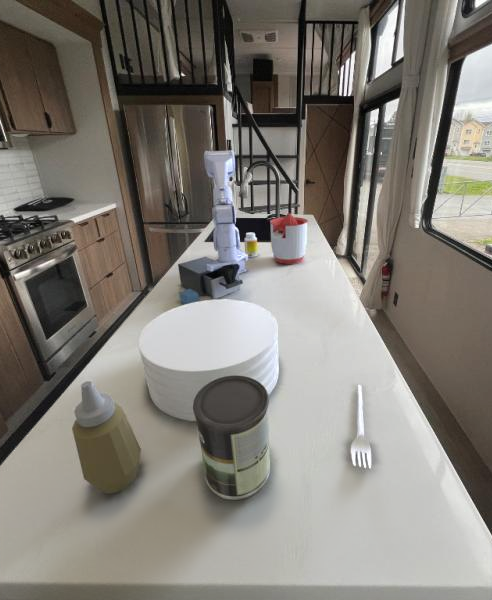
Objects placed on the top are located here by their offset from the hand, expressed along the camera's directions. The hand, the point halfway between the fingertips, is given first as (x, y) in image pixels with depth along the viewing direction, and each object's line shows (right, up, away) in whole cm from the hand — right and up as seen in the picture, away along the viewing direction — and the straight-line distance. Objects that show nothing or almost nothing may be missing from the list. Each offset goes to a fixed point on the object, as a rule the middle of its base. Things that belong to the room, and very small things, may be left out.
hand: (230, 286), depth 104 cm
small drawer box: (-11, +1, +12) cm, 16 cm away
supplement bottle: (+4, +15, +43) cm, 45 cm away
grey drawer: (-4, -1, +5) cm, 7 cm away
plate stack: (+1, -21, -33) cm, 39 cm away
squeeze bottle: (-10, -32, -55) cm, 64 cm away
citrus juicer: (+20, +12, +35) cm, 42 cm away
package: (-13, -5, 0) cm, 14 cm away
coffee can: (+8, -31, -54) cm, 63 cm away
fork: (+29, -27, -47) cm, 61 cm away
